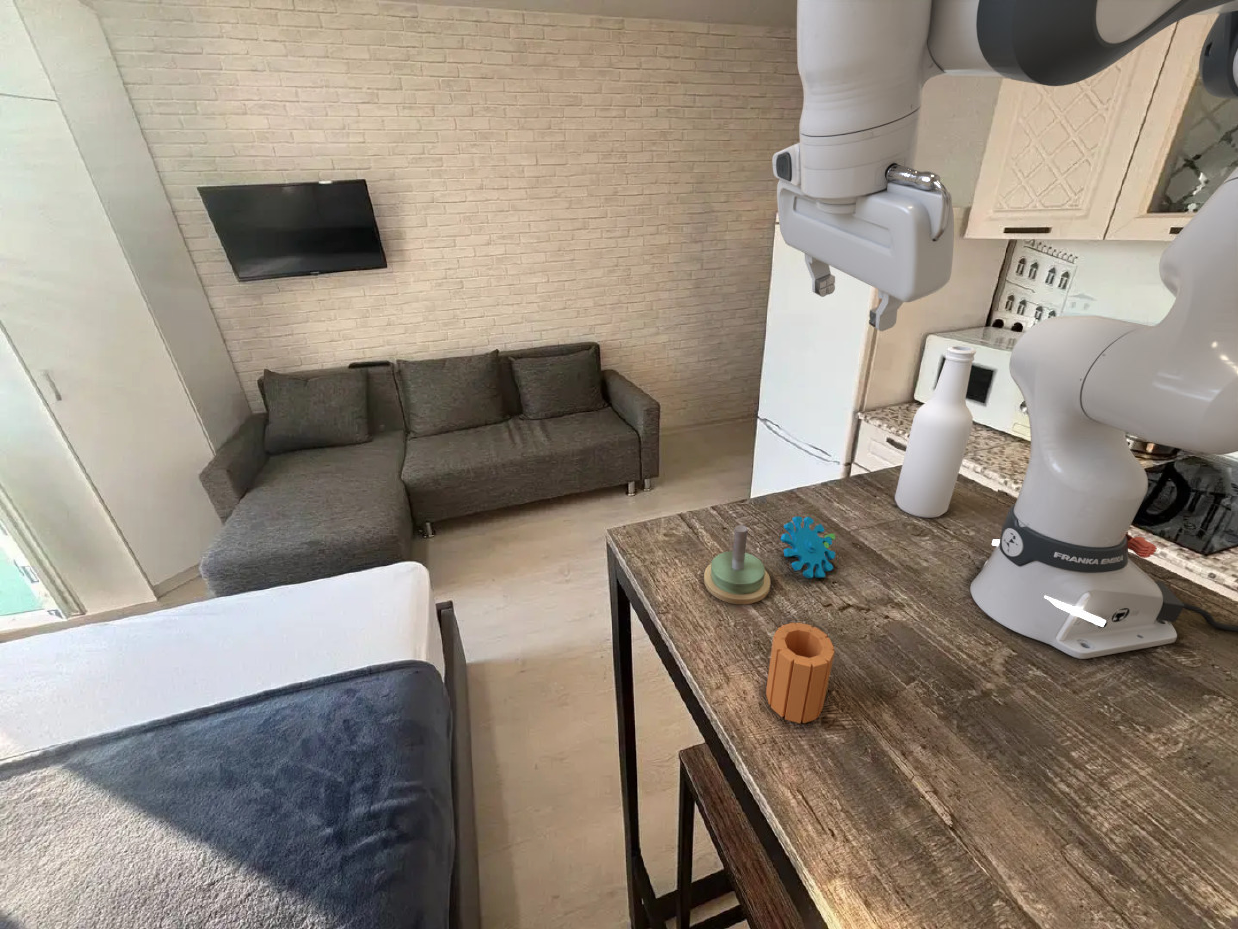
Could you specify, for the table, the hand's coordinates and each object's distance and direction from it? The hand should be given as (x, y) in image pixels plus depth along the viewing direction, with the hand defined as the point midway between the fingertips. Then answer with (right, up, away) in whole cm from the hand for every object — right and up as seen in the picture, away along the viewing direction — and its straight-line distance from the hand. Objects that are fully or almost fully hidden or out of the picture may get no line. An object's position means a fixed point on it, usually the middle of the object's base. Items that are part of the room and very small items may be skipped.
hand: (850, 308), depth 51 cm
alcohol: (+33, -24, +45) cm, 61 cm away
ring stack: (-5, -34, +27) cm, 44 cm away
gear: (+7, -32, +31) cm, 45 cm away
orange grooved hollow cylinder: (-3, -43, +9) cm, 44 cm away
